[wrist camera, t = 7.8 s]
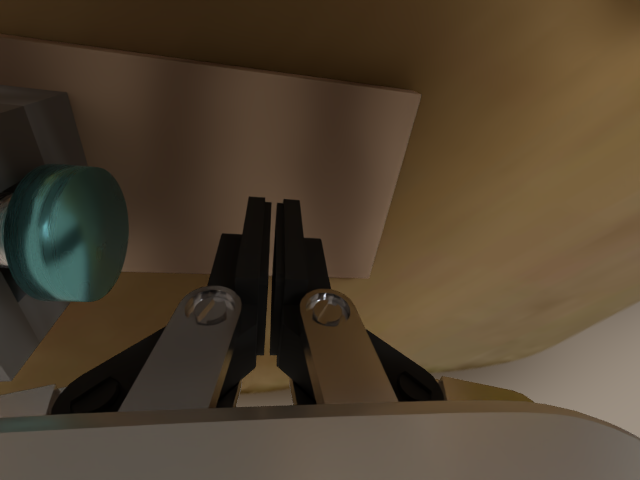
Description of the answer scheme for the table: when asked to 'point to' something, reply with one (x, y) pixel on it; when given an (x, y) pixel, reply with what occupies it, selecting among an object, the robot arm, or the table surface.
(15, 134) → the shaft frame
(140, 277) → the table surface
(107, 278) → the shaft
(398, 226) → the table surface
